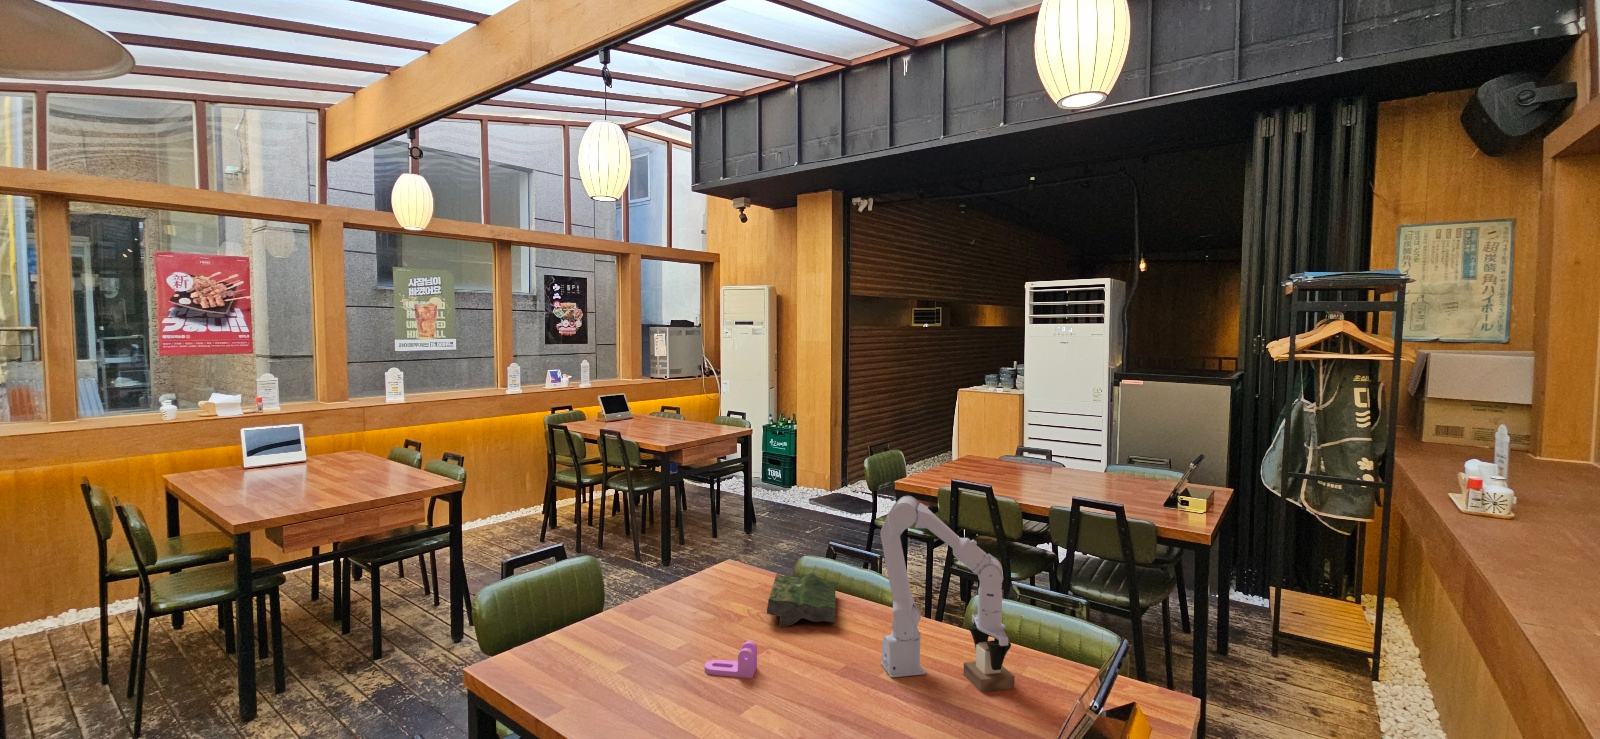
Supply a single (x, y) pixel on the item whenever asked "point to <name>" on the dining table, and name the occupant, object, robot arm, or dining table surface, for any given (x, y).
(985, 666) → the cream cardboard box
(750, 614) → the dining table surface
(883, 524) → the robot arm
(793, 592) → the landscape model
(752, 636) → the dining table surface
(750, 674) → the bracket
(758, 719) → the dining table surface
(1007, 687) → the block
